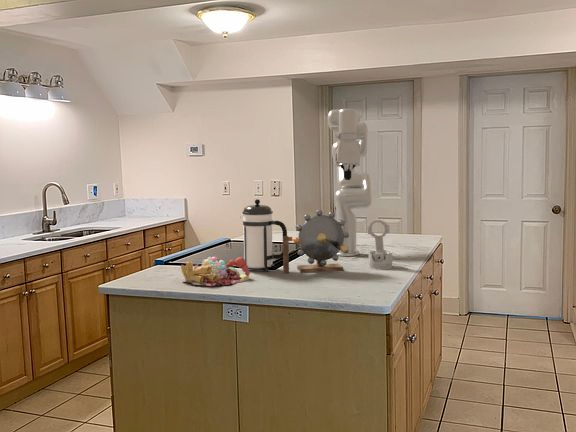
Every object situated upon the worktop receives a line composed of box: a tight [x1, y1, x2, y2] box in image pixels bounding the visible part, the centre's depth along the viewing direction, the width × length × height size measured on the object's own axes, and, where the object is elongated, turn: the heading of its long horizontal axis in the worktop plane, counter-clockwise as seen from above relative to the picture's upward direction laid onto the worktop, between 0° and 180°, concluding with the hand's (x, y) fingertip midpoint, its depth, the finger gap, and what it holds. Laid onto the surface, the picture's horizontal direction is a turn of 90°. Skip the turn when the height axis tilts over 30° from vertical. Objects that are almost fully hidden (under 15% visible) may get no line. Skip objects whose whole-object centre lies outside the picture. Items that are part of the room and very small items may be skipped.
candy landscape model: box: [180, 256, 251, 287], centre depth 234 cm, size 25×24×9 cm
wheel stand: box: [282, 235, 344, 274], centre depth 250 cm, size 25×8×15 cm, turn 101°
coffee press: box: [239, 198, 288, 273], centre depth 252 cm, size 17×16×30 cm
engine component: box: [366, 218, 393, 270], centre depth 255 cm, size 11×20×10 cm
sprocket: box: [292, 209, 349, 266], centre depth 243 cm, size 23×11×23 cm
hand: (347, 179), depth 261 cm, fingers closed
